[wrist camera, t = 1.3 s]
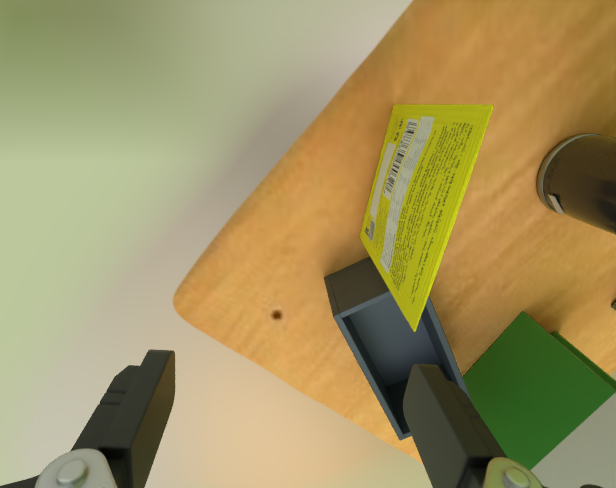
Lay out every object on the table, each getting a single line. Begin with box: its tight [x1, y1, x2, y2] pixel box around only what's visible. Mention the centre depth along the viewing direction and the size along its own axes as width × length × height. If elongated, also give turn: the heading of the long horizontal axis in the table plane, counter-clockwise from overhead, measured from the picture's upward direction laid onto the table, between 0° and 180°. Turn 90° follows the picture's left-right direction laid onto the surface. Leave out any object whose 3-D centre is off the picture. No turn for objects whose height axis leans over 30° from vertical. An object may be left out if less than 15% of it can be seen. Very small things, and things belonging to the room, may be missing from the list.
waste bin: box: [324, 257, 475, 440], centre depth 45 cm, size 10×20×9 cm, turn 26°
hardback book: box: [462, 311, 616, 488], centre depth 42 cm, size 18×7×24 cm, turn 148°
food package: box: [359, 104, 494, 332], centre depth 33 cm, size 15×1×20 cm, turn 169°
